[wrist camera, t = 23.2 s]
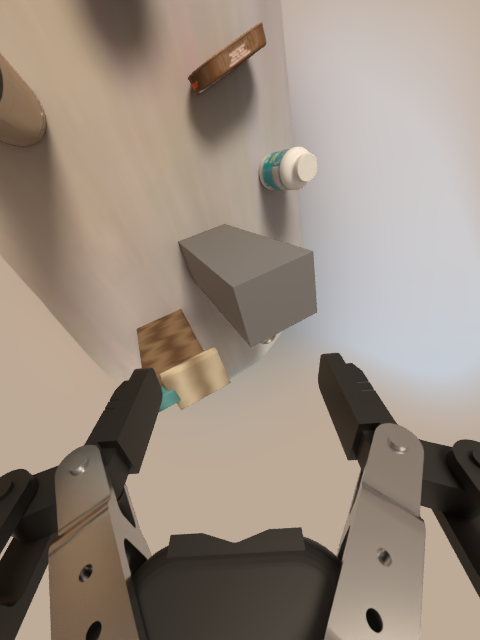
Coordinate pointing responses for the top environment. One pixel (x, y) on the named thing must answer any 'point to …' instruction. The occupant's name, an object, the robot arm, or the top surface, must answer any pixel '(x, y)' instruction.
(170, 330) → the walnut block
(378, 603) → the robot arm
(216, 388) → the tan strapped package
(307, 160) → the pill bottle
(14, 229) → the top surface
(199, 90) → the tin
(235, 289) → the charcoal plinth
